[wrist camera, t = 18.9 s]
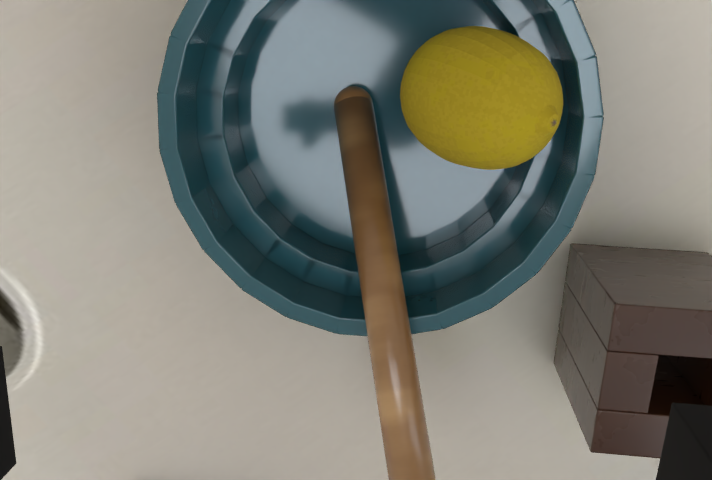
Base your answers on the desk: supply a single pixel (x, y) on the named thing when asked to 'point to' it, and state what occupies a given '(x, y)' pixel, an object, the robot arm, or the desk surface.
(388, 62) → the bowl
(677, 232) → the desk surface
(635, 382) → the utensil block
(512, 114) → the lemon
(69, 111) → the desk surface
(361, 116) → the stirring stick
